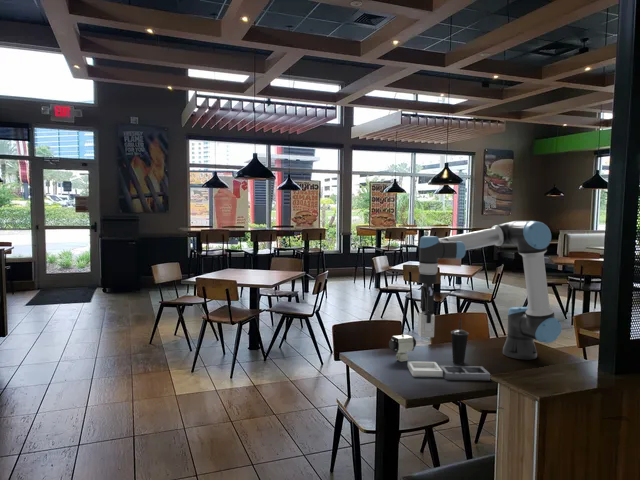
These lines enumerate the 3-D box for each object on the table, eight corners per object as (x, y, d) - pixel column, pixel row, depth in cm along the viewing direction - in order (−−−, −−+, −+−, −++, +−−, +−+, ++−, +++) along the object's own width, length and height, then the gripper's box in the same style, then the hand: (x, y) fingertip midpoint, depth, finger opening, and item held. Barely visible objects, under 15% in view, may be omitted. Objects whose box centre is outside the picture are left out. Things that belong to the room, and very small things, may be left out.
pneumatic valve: (388, 360, 219) (388, 334, 219) (410, 357, 224) (410, 331, 223) (394, 363, 214) (395, 337, 214) (416, 361, 219) (417, 334, 218)
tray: (435, 367, 210) (435, 361, 210) (442, 377, 198) (442, 371, 198) (407, 367, 210) (407, 361, 210) (413, 376, 198) (413, 370, 198)
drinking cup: (468, 365, 214) (470, 320, 213) (450, 364, 216) (451, 319, 214) (466, 360, 222) (468, 317, 220) (449, 359, 223) (450, 315, 222)
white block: (430, 333, 206) (431, 311, 206) (433, 337, 201) (434, 314, 200) (417, 333, 206) (418, 311, 206) (420, 336, 201) (421, 313, 200)
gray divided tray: (481, 372, 206) (482, 366, 206) (490, 380, 196) (490, 374, 196) (439, 371, 205) (439, 365, 205) (445, 379, 195) (446, 373, 195)
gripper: (414, 270, 211) (412, 323, 212) (424, 276, 193) (422, 334, 194) (431, 270, 211) (429, 323, 213) (442, 276, 193) (440, 334, 194)
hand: (426, 328), depth 203 cm, fingers closed on white block, 5 cm apart
